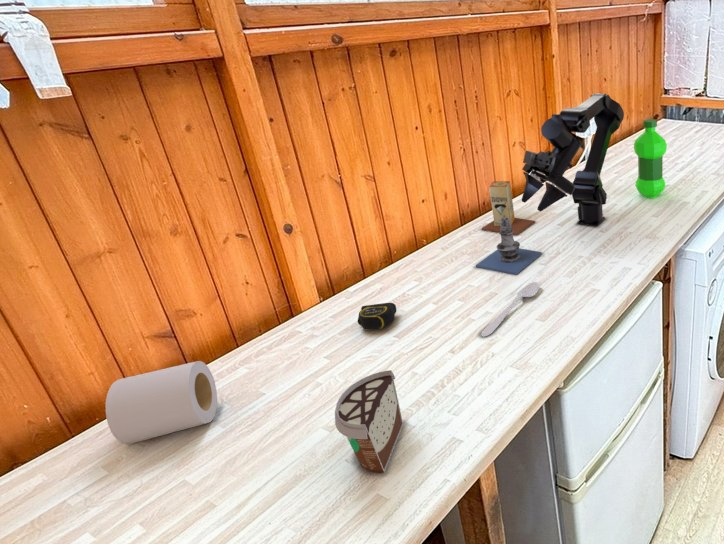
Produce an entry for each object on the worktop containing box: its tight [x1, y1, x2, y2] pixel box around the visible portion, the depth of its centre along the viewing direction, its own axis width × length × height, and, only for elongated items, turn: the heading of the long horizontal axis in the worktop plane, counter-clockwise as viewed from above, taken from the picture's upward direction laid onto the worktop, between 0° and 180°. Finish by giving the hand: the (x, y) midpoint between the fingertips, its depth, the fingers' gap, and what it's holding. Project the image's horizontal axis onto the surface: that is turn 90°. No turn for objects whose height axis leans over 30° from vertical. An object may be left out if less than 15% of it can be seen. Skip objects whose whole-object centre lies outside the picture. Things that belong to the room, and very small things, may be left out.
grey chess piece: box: [496, 215, 521, 263], centre depth 131 cm, size 6×6×12 cm
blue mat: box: [475, 247, 542, 276], centre depth 133 cm, size 12×12×1 cm
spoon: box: [480, 281, 540, 338], centre depth 111 cm, size 4×21×2 cm, turn 157°
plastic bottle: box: [633, 118, 668, 199], centre depth 169 cm, size 10×10×25 cm
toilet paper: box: [105, 360, 218, 445], centre depth 82 cm, size 10×10×10 cm
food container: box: [334, 369, 404, 474], centre depth 76 cm, size 12×6×10 cm, turn 5°
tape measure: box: [357, 302, 397, 331], centre depth 108 cm, size 7×7×4 cm
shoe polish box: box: [488, 180, 516, 226], centre depth 153 cm, size 5×5×12 cm
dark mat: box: [481, 217, 536, 236], centre depth 154 cm, size 12×10×1 cm
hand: (530, 206), depth 133 cm, fingers open, 9 cm apart
